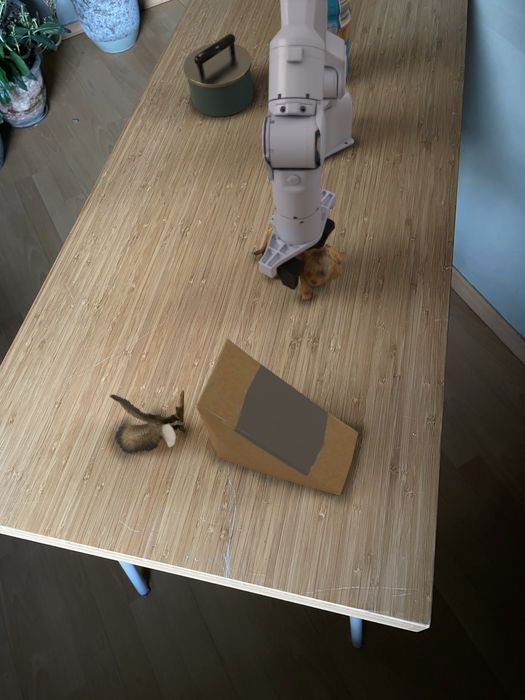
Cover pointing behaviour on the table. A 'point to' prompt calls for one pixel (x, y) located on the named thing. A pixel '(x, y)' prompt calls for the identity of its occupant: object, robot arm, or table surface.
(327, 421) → the sandwich container
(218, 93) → the green lidded pot
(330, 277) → the lion figurine
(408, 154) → the table surface
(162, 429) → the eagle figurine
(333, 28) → the beverage bottle
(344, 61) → the robot arm
